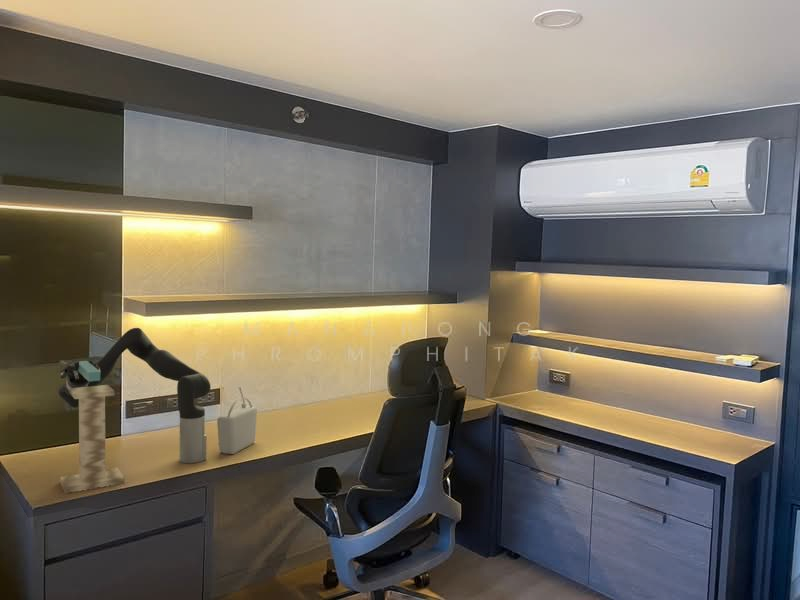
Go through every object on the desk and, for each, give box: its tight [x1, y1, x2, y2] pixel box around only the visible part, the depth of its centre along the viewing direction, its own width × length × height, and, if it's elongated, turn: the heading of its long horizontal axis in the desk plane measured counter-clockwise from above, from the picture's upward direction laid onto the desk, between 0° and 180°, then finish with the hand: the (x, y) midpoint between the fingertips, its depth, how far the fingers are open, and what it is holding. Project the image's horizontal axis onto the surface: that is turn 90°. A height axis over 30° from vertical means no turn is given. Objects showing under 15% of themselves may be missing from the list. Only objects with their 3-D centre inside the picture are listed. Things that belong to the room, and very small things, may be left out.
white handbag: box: [216, 386, 258, 455], centre depth 249 cm, size 22×8×25 cm, turn 165°
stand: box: [59, 384, 125, 494], centre depth 206 cm, size 18×12×32 cm, turn 126°
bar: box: [76, 360, 100, 382], centre depth 211 cm, size 4×26×3 cm, turn 36°
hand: (84, 363), depth 216 cm, fingers closed on bar, 3 cm apart
